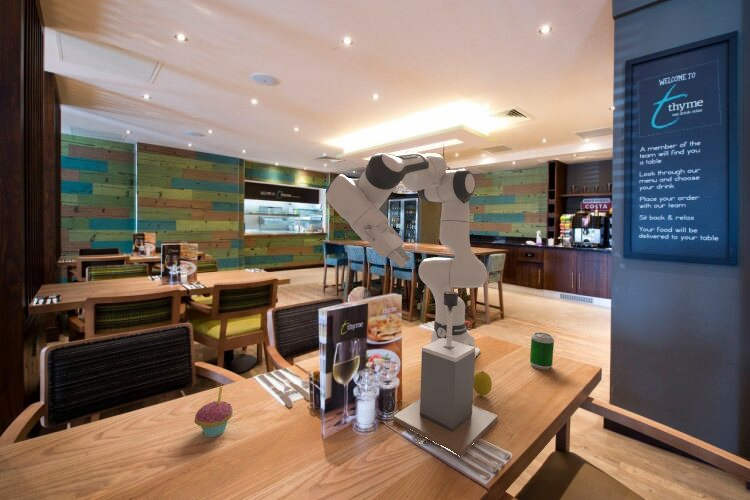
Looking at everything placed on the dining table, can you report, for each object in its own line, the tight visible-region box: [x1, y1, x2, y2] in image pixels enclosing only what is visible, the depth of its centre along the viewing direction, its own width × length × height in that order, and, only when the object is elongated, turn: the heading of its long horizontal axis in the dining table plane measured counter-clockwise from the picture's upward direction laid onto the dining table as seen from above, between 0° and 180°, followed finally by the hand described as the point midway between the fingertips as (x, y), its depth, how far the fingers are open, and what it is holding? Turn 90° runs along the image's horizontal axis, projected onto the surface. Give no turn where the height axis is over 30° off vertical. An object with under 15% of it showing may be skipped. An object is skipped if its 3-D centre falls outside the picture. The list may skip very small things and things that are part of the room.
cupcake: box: [194, 383, 233, 438], centre depth 85 cm, size 9×8×12 cm
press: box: [392, 338, 499, 458], centre depth 91 cm, size 20×20×20 cm
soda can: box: [529, 332, 555, 371], centre depth 126 cm, size 8×8×12 cm
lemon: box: [473, 370, 493, 397], centre depth 104 cm, size 6×6×8 cm
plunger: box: [443, 291, 459, 350], centre depth 89 cm, size 8×8×24 cm
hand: (406, 263), depth 90 cm, fingers open, 8 cm apart
